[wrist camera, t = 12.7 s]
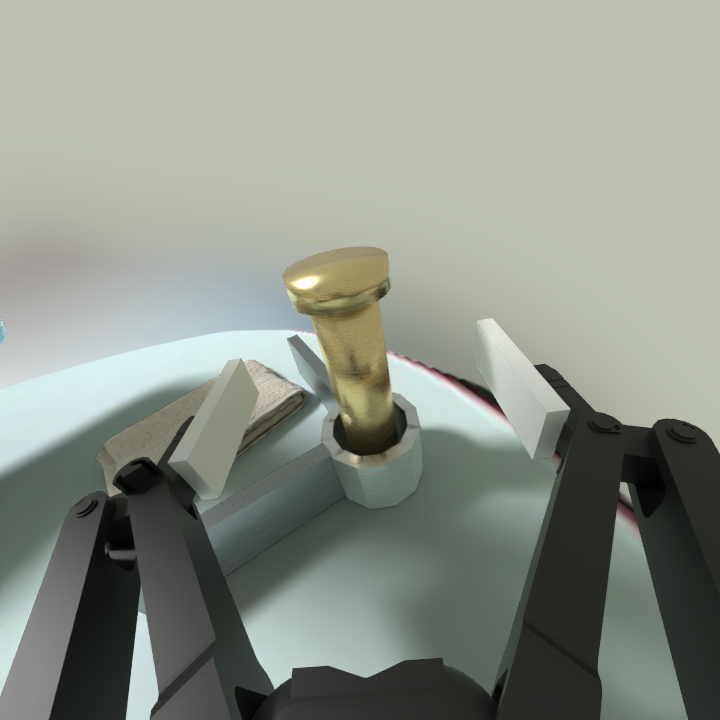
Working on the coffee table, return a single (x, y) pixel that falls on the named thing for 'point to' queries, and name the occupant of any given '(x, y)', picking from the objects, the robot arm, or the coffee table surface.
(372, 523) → the coffee table surface
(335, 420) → the hinge
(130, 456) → the washcloth
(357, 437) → the hinge pin
